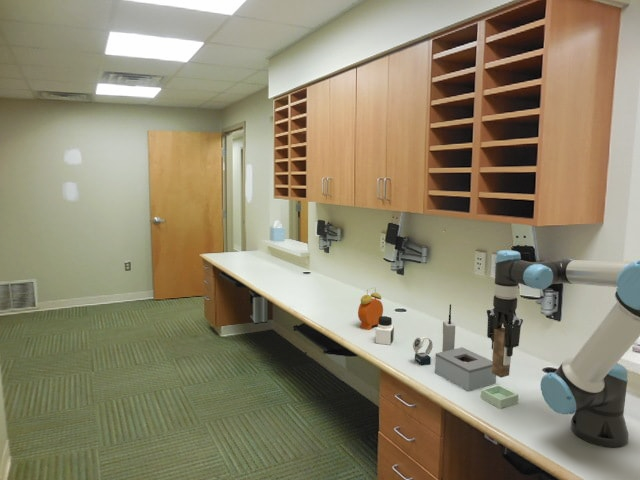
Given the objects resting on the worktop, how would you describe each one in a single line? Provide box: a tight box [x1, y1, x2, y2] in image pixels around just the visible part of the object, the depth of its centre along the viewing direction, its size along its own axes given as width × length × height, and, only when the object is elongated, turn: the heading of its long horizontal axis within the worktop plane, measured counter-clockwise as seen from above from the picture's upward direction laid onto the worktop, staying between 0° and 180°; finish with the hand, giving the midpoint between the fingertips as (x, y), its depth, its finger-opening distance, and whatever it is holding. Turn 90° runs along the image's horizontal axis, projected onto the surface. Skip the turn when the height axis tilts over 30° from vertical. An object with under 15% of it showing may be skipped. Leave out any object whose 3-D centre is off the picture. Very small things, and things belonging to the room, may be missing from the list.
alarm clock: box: [357, 287, 384, 331], centre depth 242 cm, size 13×6×20 cm, turn 135°
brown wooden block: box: [492, 326, 511, 378], centre depth 164 cm, size 4×4×16 cm
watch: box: [412, 336, 434, 367], centre depth 198 cm, size 6×8×11 cm
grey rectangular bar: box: [441, 303, 456, 352], centre depth 198 cm, size 4×5×25 cm
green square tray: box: [480, 384, 519, 409], centre depth 166 cm, size 9×9×3 cm
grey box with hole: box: [434, 346, 497, 392], centre depth 184 cm, size 18×14×8 cm
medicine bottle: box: [375, 315, 395, 346], centre depth 221 cm, size 7×7×12 cm
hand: (501, 361), depth 164 cm, fingers closed on brown wooden block, 4 cm apart
